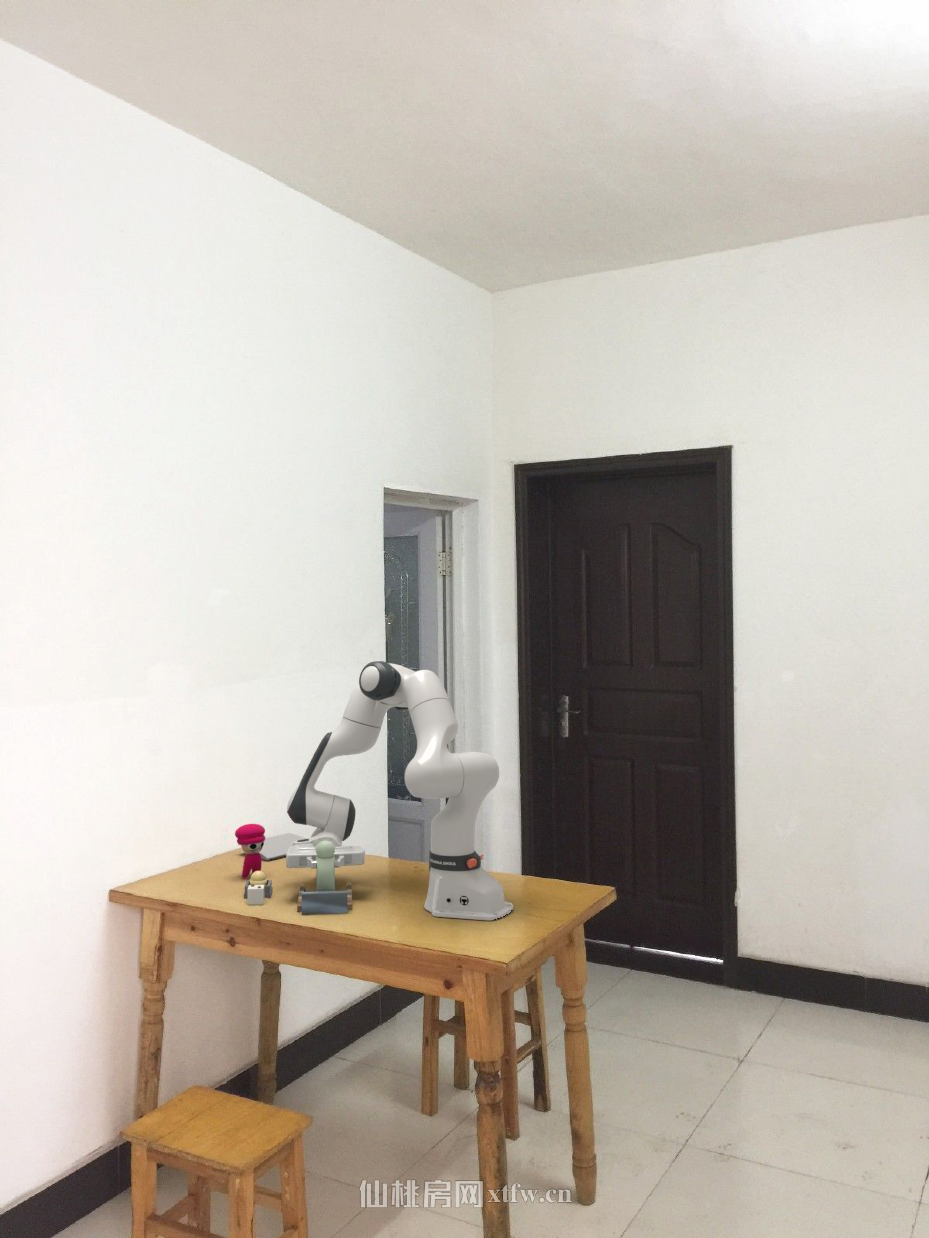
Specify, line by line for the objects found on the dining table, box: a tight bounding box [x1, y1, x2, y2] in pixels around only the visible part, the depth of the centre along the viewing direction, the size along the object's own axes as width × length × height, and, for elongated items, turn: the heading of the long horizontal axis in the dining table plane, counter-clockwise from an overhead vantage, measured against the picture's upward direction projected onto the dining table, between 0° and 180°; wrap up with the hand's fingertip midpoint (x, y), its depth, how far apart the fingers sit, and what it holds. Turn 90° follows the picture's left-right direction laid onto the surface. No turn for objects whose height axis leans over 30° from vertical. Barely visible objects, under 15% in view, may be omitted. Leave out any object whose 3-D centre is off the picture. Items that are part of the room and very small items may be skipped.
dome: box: [249, 870, 268, 885], centre depth 278 cm, size 4×4×4 cm
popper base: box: [243, 879, 274, 900], centre depth 278 cm, size 7×7×3 cm
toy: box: [234, 823, 266, 879], centre depth 295 cm, size 8×8×15 cm
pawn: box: [315, 840, 336, 892], centre depth 268 cm, size 5×5×13 cm
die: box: [247, 884, 266, 906], centre depth 270 cm, size 4×4×4 cm
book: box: [237, 832, 307, 861], centre depth 326 cm, size 15×23×4 cm, turn 141°
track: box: [296, 882, 353, 915], centre depth 272 cm, size 24×14×5 cm, turn 7°
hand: (325, 864), depth 267 cm, fingers closed on pawn, 5 cm apart
